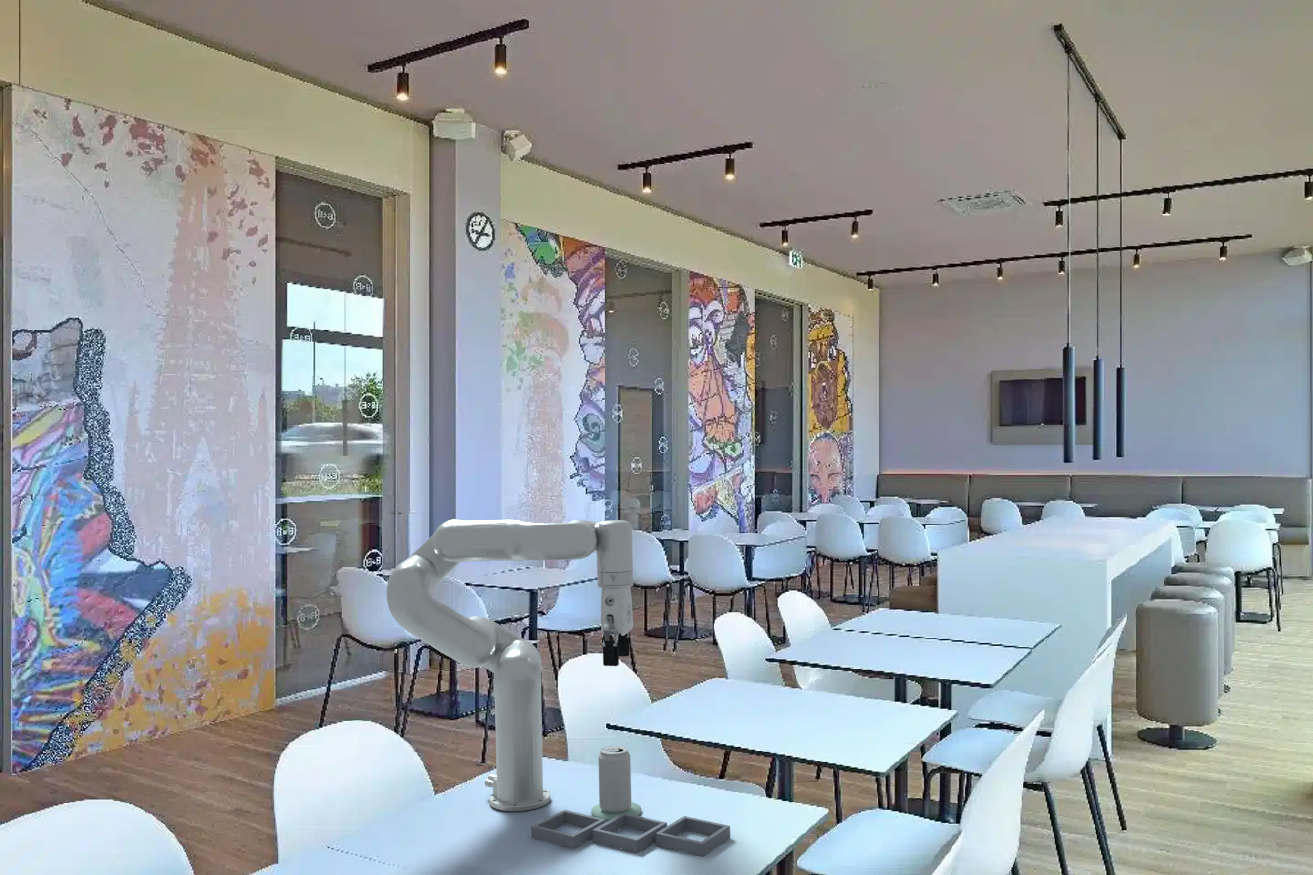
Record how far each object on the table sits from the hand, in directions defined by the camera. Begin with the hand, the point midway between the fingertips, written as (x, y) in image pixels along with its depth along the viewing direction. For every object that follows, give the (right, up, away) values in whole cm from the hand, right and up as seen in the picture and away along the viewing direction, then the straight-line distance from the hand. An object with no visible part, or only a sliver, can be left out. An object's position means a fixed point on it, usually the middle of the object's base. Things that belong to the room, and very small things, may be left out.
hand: (616, 660), depth 208 cm
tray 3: (+15, -28, -26) cm, 41 cm away
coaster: (0, -28, -10) cm, 30 cm away
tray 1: (-8, -28, -21) cm, 36 cm away
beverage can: (0, -28, -10) cm, 29 cm away
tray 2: (+3, -28, -23) cm, 36 cm away
